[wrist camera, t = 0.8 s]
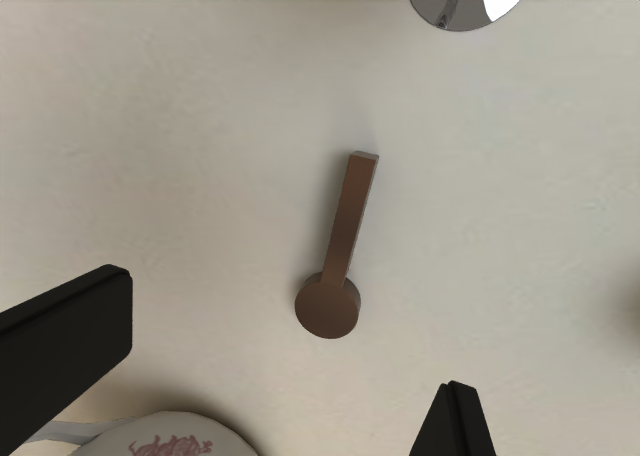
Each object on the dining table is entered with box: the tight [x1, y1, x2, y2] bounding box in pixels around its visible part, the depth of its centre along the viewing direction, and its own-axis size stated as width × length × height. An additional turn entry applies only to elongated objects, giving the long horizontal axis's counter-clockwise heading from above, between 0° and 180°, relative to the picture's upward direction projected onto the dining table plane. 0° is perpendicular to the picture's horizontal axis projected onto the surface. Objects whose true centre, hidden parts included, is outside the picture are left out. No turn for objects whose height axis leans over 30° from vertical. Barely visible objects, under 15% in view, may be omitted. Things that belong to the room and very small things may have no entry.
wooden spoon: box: [295, 151, 379, 339], centre depth 23 cm, size 14×5×3 cm, turn 168°
